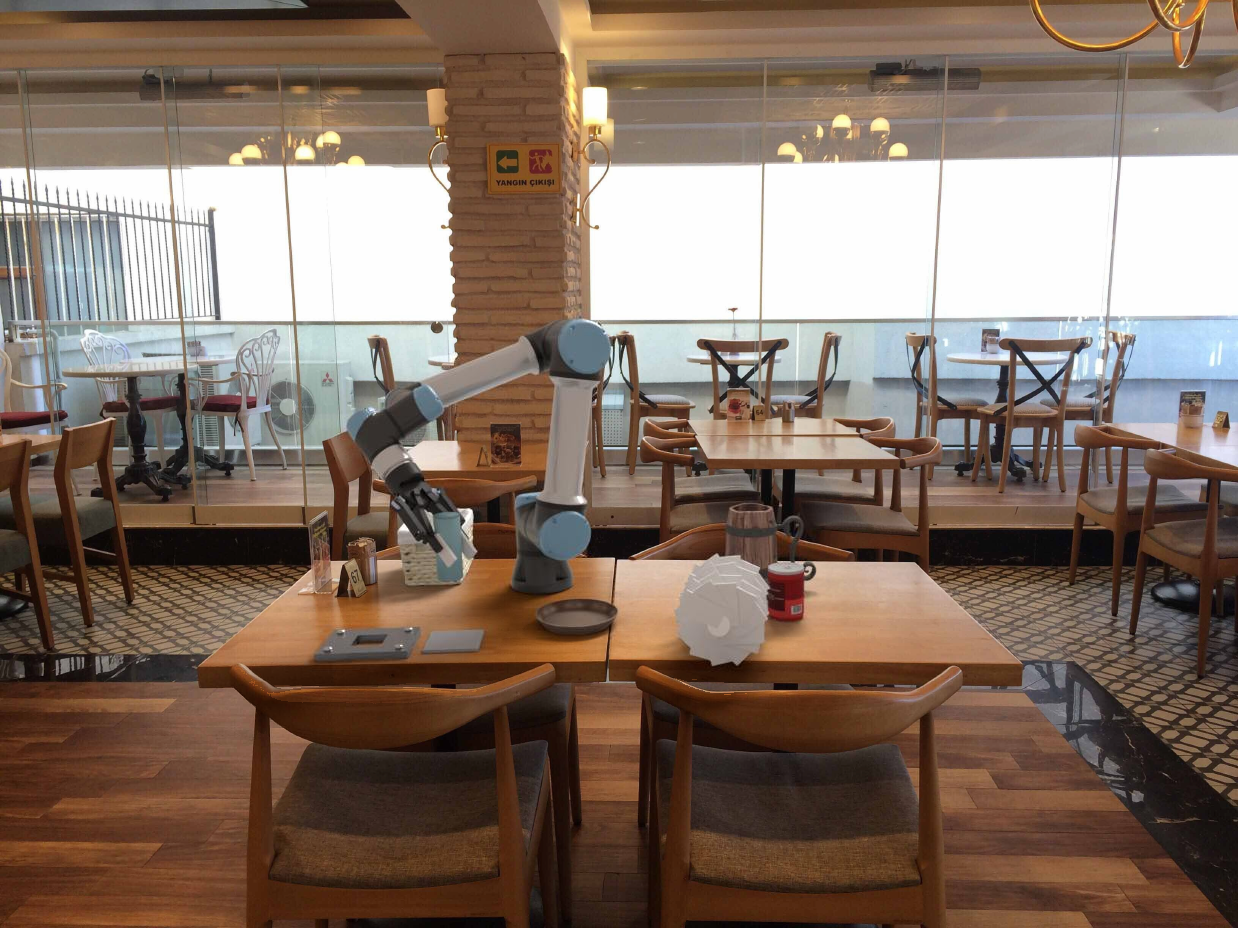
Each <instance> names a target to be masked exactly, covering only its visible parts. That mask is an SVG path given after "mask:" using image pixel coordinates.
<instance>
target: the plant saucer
mask: <svg viewBox="0 0 1238 928" xmlns="http://www.w3.org/2000/svg"><path fill="white" fill-rule="evenodd" d="M618 614H619V608H618V607H617V606H615V605H614V604H613V603H611V602H608V601H606V600H602V599H601V600H600V599H596V598H583V597H582V598H567V599H560V600H556V601H552V602H549V603H546V604H544V605H541V607H539V608H537V610H536V611H535V617H536V619H537V621H539V623H540V624H541V625H542V626H543V627H544V628H545V629H546V630H547V631H549V632H550V633H551V632H552V633H555V634H559V635H566V636H580V635H581V636H582V635H589V634H590V635H591V634H594V633H597V632H601V631H604V630H606V629H607V628H608V627H609V626H611V624H612V623H613V622H614V621H615V619H616V617H617V615H618Z"/></svg>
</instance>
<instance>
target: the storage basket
mask: <svg viewBox="0 0 1238 928" xmlns="http://www.w3.org/2000/svg"><path fill="white" fill-rule="evenodd" d="M457 510H458V511H459V512H460V514H461V515H462V516H463V517H464V519H465V520H466V522H465V523H464V524H463V526H462V529H463V530H464V532H465V533H466V534H467V536H468V537H469V541H470V542H471V544H472V545H473V546H474V544H473V540H474V536H473V530H474V527H473V525H474V513H473V510H472V509H471V508H468V507H467V508H457ZM425 512H426V515H427V517H428V519H429V521H430V524H431V526H432V528H433V530H434V518H433V515H432V514H431V513H430V512H427V511H426V510H425ZM418 533H419V532H418ZM396 534H397V544H398V547H399V548H398V549H399V553H400V558H401V563H402V564H401V567H402V571H403V575H404V582H405V585H406V586H409V587H415V586H416V587H417V586H419V585H424V586H446V585H448V586H452V585H460V584H461V583H462V582H463V581H464V580H465V578H466V576H467V574H468V573H469V572H468V571H469V570H470V567H471V565H472V563H473V560H474V559H475V557H473V558H472V559H471V560H468V559H467V558H466V557H465V555H464V554H463V552H462V562H463V578H462V579H459V580H456V581H440V580H438V579H437V566H436V553H435V552H434V550H433V549H432V548H431V546H430V545H429V543H427V544H423V543H422V541H423V540H421V541H420V542H418V541H416V540H415V538H414V537H413V535H412V534H411V532H410V531H409V530H408V528H407V527H406V525H405V524H404V523H403V524H401V526H399V528H398V530H397V533H396ZM434 535H435V534H434Z"/></svg>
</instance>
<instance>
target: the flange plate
mask: <svg viewBox="0 0 1238 928" xmlns="http://www.w3.org/2000/svg"><path fill="white" fill-rule="evenodd" d="M421 632H422V631H421V627H420V626H407V627H405V626H404V627H382V628H381V627H379V628H355V629H354V628H351V629H349V628H348V629H345V628H341V629H334V630H333V631H331V633H330V634H329V636H328V637H327V638H326V639H325V641H324V642H323V643H322V644H321V646H320V647H319V648H318V649H317V651H316V652H315V653H314V661H319V662H342V661H344V662H345V661H365V660H366V661H369V660H397V659H399V660H401V659H402V660H403V659H409V657H410V655H411V653H412V651H413V649H414V648H415V645H416V644H417V641H418V639H419V637H420V636H421ZM372 642H374V643H375V642H376V643H377V642H382V643H381V644H375V645H374V644H373V645H369V644H368V645H358V643H372Z"/></svg>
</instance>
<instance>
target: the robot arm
mask: <svg viewBox="0 0 1238 928" xmlns="http://www.w3.org/2000/svg"><path fill="white" fill-rule="evenodd" d="M611 350H612V345H611V339H610V338H609V335H608V332H606V331H605V329H604V328H603V326H601V325H600V324H599V323H597V322H595V321H592V320H589V319H586V318H561V319H557V320H554V321H552V322H549V323H548V324H545V325H543V326H542V327H540V328H538V329H535V330H533V331H531V332H529V333H526V334H524V335H520V337H519V339H518V341H517V342H516V343H513V344H510V345H508V346H506V347H503V348H501V349H498V350H495V351H493V352H491V353H489V354H486V355H483V356H481V357H478V358H475V359H473V360H470V361H467V362H465V363H462V364H460V365H458V366H455V367H453V368H451V369H448V370H445V371H443V372H439V373H437V374H434V375H432V376H430V377H428V378H425V379H422V380H419V381H417V382H415V383H413V384H410V385H407V386H405V387H397V388H394V389H392V390H390V391H389V392H388V393H387V394H386V396H385V398H384V401H383V408H384V409H381V410H380V411H379V410H377V409H376V408H374V407H371V406H366V407H364V408H361V409H358V410H357V411H355V412H354V413H353V414H352V415H351V416H350V417H349V418H348V420H347V422H346V431H347V433H348V434H349V436H350V437H351V439H352V440H353V442H354V444H355V445H356V446H357V448H358V450H359V451H360V452H361V453H362V454H363V456H364V457H365V459H366V460H367V462H369V464H370V465H371V467H372V468H373V470H374V471H375V472H376V474H377V475H378V476H379V478H380V479H381V480H382V482H384V485H385V487H386V488H387V489H388V491H389V492H390V494H391V495H392V496H393V497H394V498H393V500H392V501H391V503H390V504H389V507H390V508H391V510H393V511H394V512H395V513H396V514H397V515H398V517H399V518H400V520H401V521H402V523H403V524H405V525H406V527H407V528H408V530H409V531H410V532H411V534H412V535H413V537H414V538H415V540H416V541H418V542H420V541H421V540H423V541H422V543H423V544H427V543H429V545H430V546H431V548H432V549H433V550H434V552H435V553H438V554H439V556H440V557H441V559H442V560H443V561H444V563H445V564H446V565H447V567H451V566H452V564H453V563H454V562H455V561H456V559H457V557H456V556H455V555H454V553H453V552H452V551H451V549H450V548H449V546H448V545H447V544H446V542H445V541H444V540H443V538H442V537H441V535H440V534H439V533H438V534H436V535H434V534H435V533H434V530H433V528H432V526H431V524H430V521H429V519H428V517H427V515H426V512H425V510H426V511H427V512H430V513H431V514H432V515H435V514H437V513H443V512H457V513H459V514H460V512H459V511H458V510H457V509H458V508H457V507H456V506H455V504H454V503H453V502H452V501H451V499H450V498H449V496H448V495H447V494H446V491H445V489H444V487H443V486H442V485H438V487H437V488H433V487H432V486H430V484H428V483H427V482H426V480H425V475H424V474H425V473H424V472H423V471H422V470H421V469H420V467H419V466H418V465H417V463H416V462H414V458H413V457H412V455H410V454H409V453H408V451H407V450H406V448H405V447H404V445H403V444H402V443H401V442H402V441H404V440H405V439H406V438H408V437H409V436H411V435H413V434H415V433H416V432H417V431H419V430H420V429H422V428H424V427H426V426H427V425H430V423H433V422H434V421H435V420H436V419H437V418H439V417H440V416H441V415H443V414H444V412H445V408H446V407H448V406H451V405H453V404H456V403H458V402H462V401H463V400H465V399H469V398H471V397H473V396H476V395H479V394H481V393H484V392H485V391H488V390H490V389H494V388H496V387H499V386H500V385H504V384H506V383H508V382H510V381H514V380H515V379H518V378H521V377H523V376H525V375H528V374H531V375H532V374H533V375H535V376H537V375H539V374H542V373H545V372H548V371H549V372H548V378H549V379H550V380H551V382H552V383H553V385H554V387H553V388H554V389H553V397H552V399H553V400H552V408H551V419H550V429H549V438H548V447H547V456H546V457H547V458H546V465H545V466H546V467H545V476H544V485H543V490H542V491H538V492H529V493H522V494H519V495H517V496H516V497H515V499H514V508H513V510H514V516H515V518H514V519H515V536H516V537H515V539H516V540H515V541H516V559H515V563H514V566H513V569H512V574H511V576H510V583H511V584H510V585H511V589H513V590H514V591H516V592H519V593H522V594H523V593H524V594H530V595H531V594H532V595H533V594H534V595H535V594H536V595H537V594H539V595H540V594H541V595H542V594H553V593H558V592H563V591H565V590H568V589H570V588H571V587H572V586H573V585H574V573H573V571H572V568H571V566H570V563H569V560H573V559H574V558H577V557H578V556H579V555H581V554H582V553H583V552H584V551H585V550H586V549H587V547H588V545H589V543H590V541H591V536H592V535H591V534H592V530H591V526H590V523H589V521H588V519H587V518H586V514H587V507H588V500H587V499H586V498H585V497H584V495H583V494H582V492H583V491H582V489H583V482H584V481H583V480H584V471H585V463H586V454H587V442H588V437H589V435H588V434H589V426H590V424H589V423H590V417H591V415H590V414H591V407H592V397H593V390H594V389H595V388H596V386H598V385H599V384H600V383H601V377H602V369H603V368H604V367H605V366H606V365H607V364H608V362H609V360H610V357H611V353H612V351H611ZM465 522H466V520H465V519H464V517H463V516H462V515H461V514H460V527H461V545H462V552H463V554H464V555H465V557H466V558H467V559H468V560H471V559H472V558H474V556H475V555H476V554H477V553H478V550H477V549H476V547H474V544H473V545H472V544H471V542H470V541H469V537H468V536H467V534H466V533H465V532H464V530H463V529H462V526H463V524H464V523H465ZM418 532H419V533H418Z"/></svg>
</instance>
